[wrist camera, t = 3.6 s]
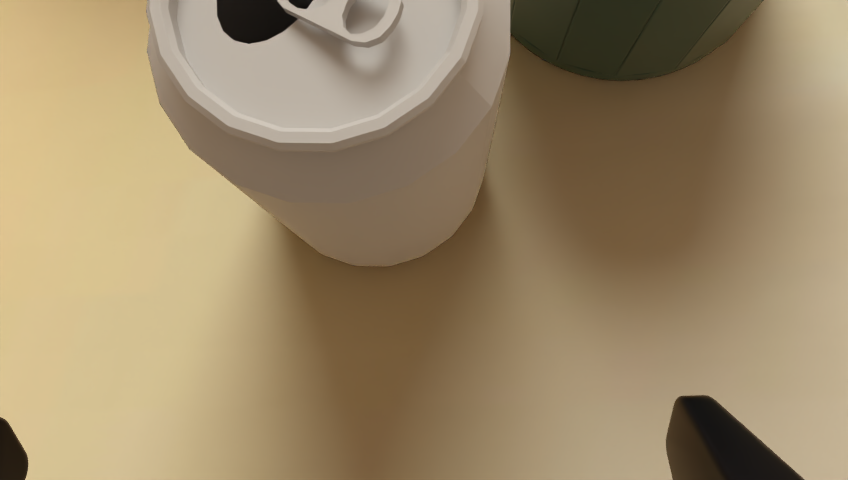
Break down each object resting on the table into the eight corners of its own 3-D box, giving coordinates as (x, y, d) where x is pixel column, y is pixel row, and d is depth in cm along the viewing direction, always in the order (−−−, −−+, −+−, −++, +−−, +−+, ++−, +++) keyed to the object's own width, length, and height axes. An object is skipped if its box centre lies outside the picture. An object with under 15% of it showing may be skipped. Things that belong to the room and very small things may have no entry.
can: (339, 34, 25) (240, -262, 13) (520, 124, 24) (593, -104, 12) (235, 209, 24) (24, 63, 12) (420, 309, 23) (394, 260, 11)
